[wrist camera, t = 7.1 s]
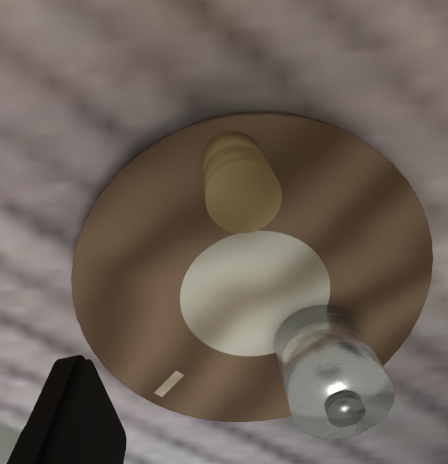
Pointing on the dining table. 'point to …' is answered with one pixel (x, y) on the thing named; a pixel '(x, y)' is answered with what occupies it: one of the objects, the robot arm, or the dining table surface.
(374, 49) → the dining table surface
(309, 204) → the turntable
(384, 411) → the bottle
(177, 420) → the dining table surface
